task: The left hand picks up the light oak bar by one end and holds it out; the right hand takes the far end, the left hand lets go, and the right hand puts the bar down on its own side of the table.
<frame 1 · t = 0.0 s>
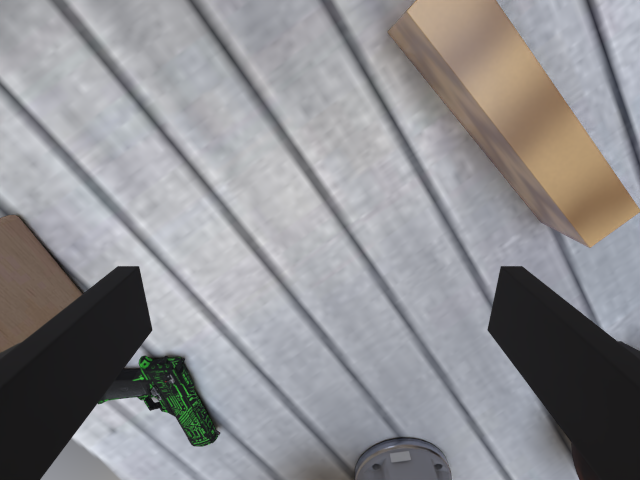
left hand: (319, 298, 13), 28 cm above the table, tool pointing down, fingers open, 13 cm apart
cat face balloon: (605, 405, 52), on the table
bar: (491, 118, 37), on the table
handgun: (159, 395, 51), on the table
decorative block: (38, 274, 44), on the table
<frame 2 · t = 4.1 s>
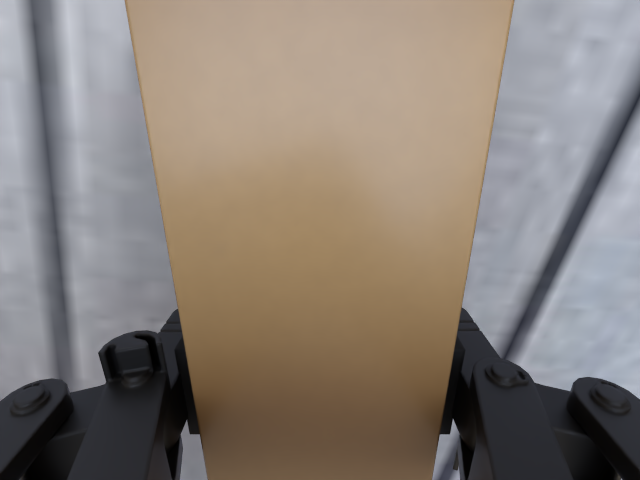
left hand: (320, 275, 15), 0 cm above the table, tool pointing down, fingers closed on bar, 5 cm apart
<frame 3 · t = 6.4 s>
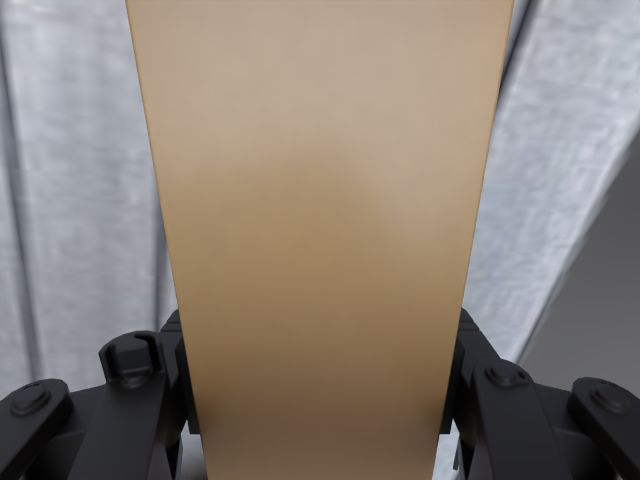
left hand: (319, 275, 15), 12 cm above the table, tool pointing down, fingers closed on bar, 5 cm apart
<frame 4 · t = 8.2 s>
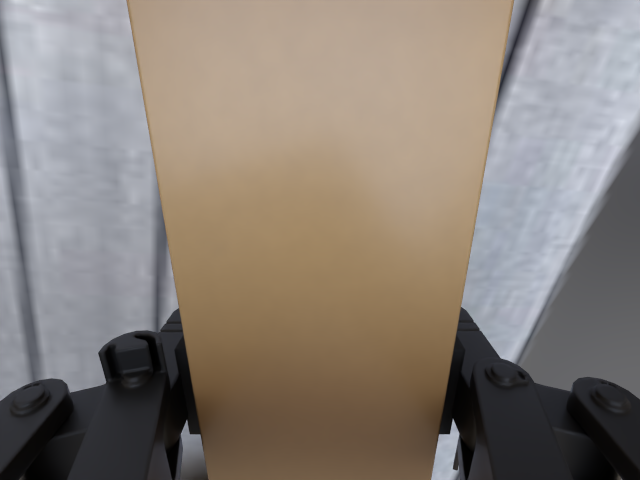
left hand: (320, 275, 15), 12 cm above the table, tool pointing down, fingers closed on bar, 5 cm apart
when the left hand's fingers open (12 cm above the table, at t = 9.0 s): bar stays where it is, held by the right hand.
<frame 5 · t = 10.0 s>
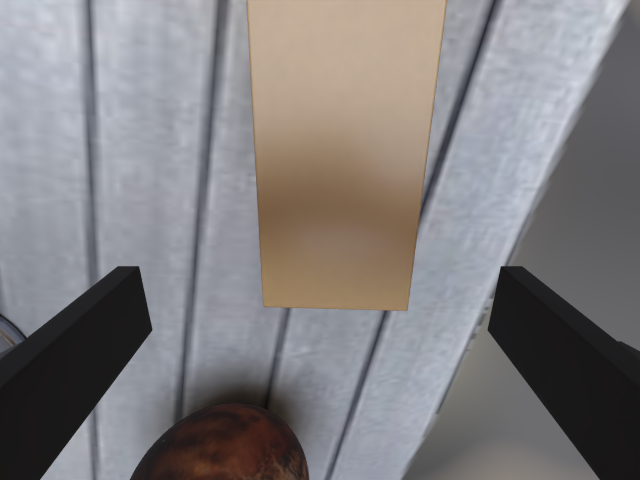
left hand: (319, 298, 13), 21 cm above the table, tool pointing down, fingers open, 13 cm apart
cat face balloon: (236, 427, 45), on the table
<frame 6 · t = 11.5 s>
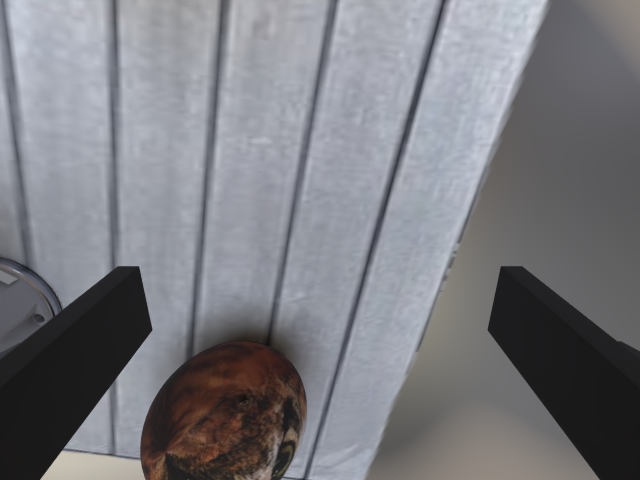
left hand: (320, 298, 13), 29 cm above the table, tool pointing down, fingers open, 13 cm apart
cat face balloon: (241, 371, 50), on the table
when the right hand's fingers open (4 cm above the table, at t = 14.8 s): bar stays where it is, on the table.
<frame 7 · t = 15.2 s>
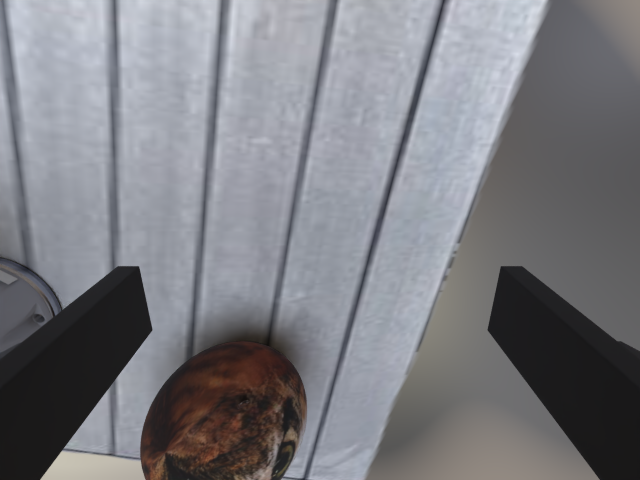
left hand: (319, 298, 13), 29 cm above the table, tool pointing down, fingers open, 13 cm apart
cat face balloon: (241, 371, 50), on the table
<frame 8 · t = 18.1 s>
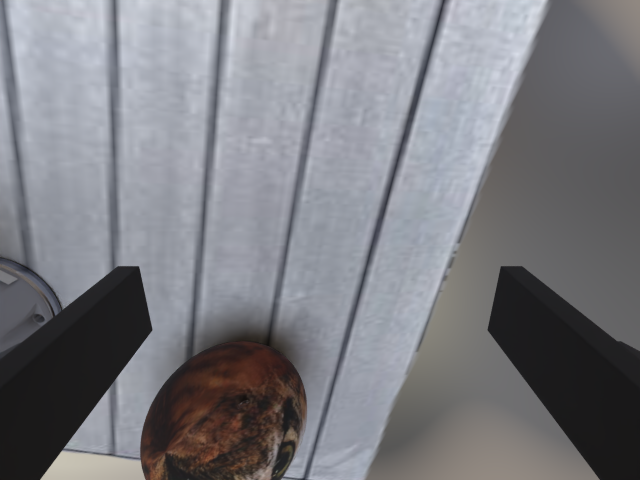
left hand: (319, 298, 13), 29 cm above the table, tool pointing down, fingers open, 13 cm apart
cat face balloon: (241, 371, 50), on the table
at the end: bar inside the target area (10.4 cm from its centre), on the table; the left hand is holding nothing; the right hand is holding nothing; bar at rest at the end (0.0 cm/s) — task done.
